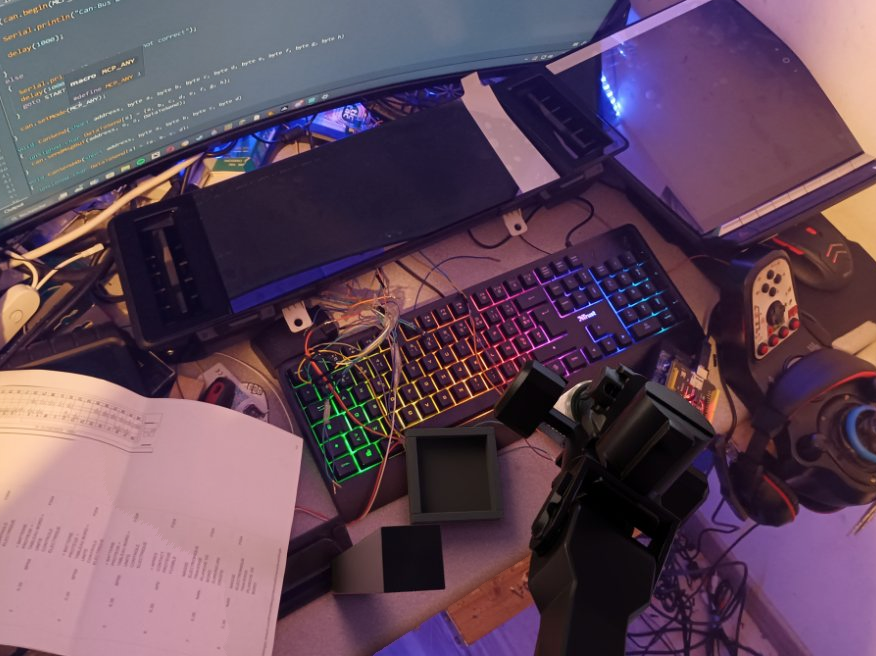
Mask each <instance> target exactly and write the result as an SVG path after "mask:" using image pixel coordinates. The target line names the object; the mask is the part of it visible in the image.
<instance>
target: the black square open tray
mask: <svg viewBox="0 0 876 656" xmlns="http://www.w3.org/2000/svg"><path fill="white" fill-rule="evenodd" d="M404 447H405V463H406V479H407V480H406V481H407V494H408V495H407V496H408V511H409V525H425V524H459V523H460V524H461V523H480V522H481V523H483V522H499V521H501V520H503V519H505V514H504V513H505V512H504V504H503V503H504V502H503V495H502V494H503V493H502V486H501V477H500V467H499V460H498V451H497V441H496V433H495V427H494V426H473V427H472V426H471V427H466V426H465V427H435V428H433V427H432V428H431V427H429V428H408V429H407V430H406V431H404Z"/></svg>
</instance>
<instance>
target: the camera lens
mask: <svg viewBox="0 0 876 656" xmlns="http://www.w3.org/2000/svg"><path fill="white" fill-rule="evenodd" d="M592 380H593V379H590V380H584V381H580V382H578V383H577V384H576V385H574V386H573V387H572V388H570V389H568V390H567V391H566V392H565V393H562V395H561V397H560V398H559V400H558V401H557V403H556V404H555V405H554V408H555V409H557V410H558V411H560V412H561V413H563V414H564V415H566V416H567V417H569V418H570V419H572V420H573V421H575V422H576V423H578V424H581V423H582V417H583V415H584V414H585V413H586V412H587V410H588V409H589V406H590V404H591V403H592V398H591V397H589V396H588V395H586V393H585V392H586V389H587V387H588V386H589V384H590V383H591V382H592ZM549 426H550V425H549ZM552 429H554V428H552ZM556 431H557V430H556ZM560 434H561V433H560ZM564 437H565V436H564ZM560 446H561V447H563V446H562V445H560Z"/></svg>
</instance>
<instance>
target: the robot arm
mask: <svg viewBox="0 0 876 656" xmlns="http://www.w3.org/2000/svg"><path fill="white" fill-rule="evenodd" d="M591 380H592V382H591V383H590V384H589V386H588V387H587V389H586V392H585V393H586V395H588V396H589V397H591V398H592V403H591V404H590V406H589V409H588V410H587V412H586V413H585V414H584V415H583V417H582V423H581V424H578V423H576V422H575V421H573V420H572V419H570V418H569V417H567V416H566V415H564V414H563V413H561V412H560V411H558V410H557V409H555V408H554V405H555V404H556V403H557V401H558V400H559V398H560V397H561V396H562V395H563V394H564V391H565V389H566V386H567V385H568V384H569V382H570V381H569V380H568V379H566V378H565V377H563V376H562V375H560V374H559V373H557V372H555V371H554V370H553V369H551V368H550V367H548V366H545V365H544V364H543V363H541V362H539V360H537V359H528V360H525V362H524V363H523V364H522V365H521V367H520V368H519V370H518V371H517V373H516V374H515V375H514V376H513V378H512V379H511V381H510V382H509V384H508V385H507V386H506V387H505V389H503V392H502V393H501V394H500V396H499V397H498V398H497V400H496V401H495V403H494V406H493V409H492V410H493V416H494V419H495V420H497V421H498V422H499V423H501V424H503V425H504V426H506V427H507V428H508V429H510V430H512V431H513V432H514V433H516V434H517V435H519V436H520V437H521V438H523V439H525V440H527V439H529V438H531V436H533V434H534V432H535V431H536V430H538V431H540V432H541V433H543V434H544V435H546V436H547V437H549V438H550V439H551V440H553V441H554V442H555V443H557V444H558V445H559V446H561V445H562V446H561V447H563V449H562V451H560V453H559V454H558V455H557V457H556V458H555V461H554V465H555V466H556V467H558V468H559V469H560V472H559V473H558V474H557V475H556V476H555V477H554V479H553V480H552V481H551V485H550V489H551V490H550V492H549V493H548V495H547V498H546V499H545V500H544V502H543V504H542V506H541V508H540V509H539V511H538V513H537V514H536V517H535V518H534V520H533V522H532V524H531V527H530V530H531V532H530V534H531V537H530V540H529V544H528V549H529V550H530V551H531V555H530V557H529V558H530V559H529V567H528V573H527V574H528V575H527V583H526V584H527V588H528V591H529V594H530V596H531V598H532V600H533V603H534V604H535V607H536V609H537V611H538V614H539V615H540V617H539V627H538V631H537V636H536V637H537V638H536V641H535V642H536V643H535V647H534V651H533V656H626V654H627V653H626V652H627V637H628V631H629V626H630V625H631V624H632V623H633V622H634V621H635V620H636V619H637V618H638V617H639V616H640V615H641V614H643V613H644V612H645V611H646V610H647V609H648V608H649V607H650V606H651V604H652V603H651V602H652V598H653V595H654V593H655V592H656V588H657V585H658V583H659V580H660V579H661V578H660V577H661V575H662V572H663V569H664V567H665V564H666V562H667V559H668V558H669V554H670V551H671V548H672V546H673V544H674V541H675V538H676V536H677V533H678V531H679V530H680V529H681V528H682V527H683V526H684V525H685V524H686V523H687V521H688V520H689V519H690V518H691V517H692V516H693V515H694V514H695V513H696V512H697V511H698V510H699V509H700V508H701V507H702V506H703V504H705V503H706V502H707V499H708V498H709V496H710V493H711V492H710V491H711V490H710V484H709V480H708V475H707V474H706V473H705V472H704V471H702V470H700V469H699V468H697V467H696V466H695V465H693V462H694V461H695V460H696V459H697V458H698V457H699V455H700V454H702V453H703V451H704V450H705V449H706V448H707V447H708V446H709V445H710V444H711V443H712V442H713V440H714V439H715V437H716V436H717V432H716V430H715V427H714V426H713V425H712V423H711V422H710V420H709V419H708V418H707V417H706V416H705V415H704V414H703V413H702V412H701V411H700V410H699V409H698V407H696V406H694V405H693V404H692V402H690V401H688V399H686V398H684V396H682V395H681V394H679V393H678V392H676V391H675V390H673V389H671V388H669V387H668V386H666V385H664V384H661V383H659V382H656V381H652V380H651V379H649V378H647V376H645V375H643V374H640V373H637V372H634V371H633V370H632V369H630V368H628V367H627V366H625V365H623V364H622V363H621V362H619V363H618V364H617V365H616V366H615V367H614V368H613V369H612V368H611V367H609V366H608V365H603V366H601V367H600V368H599V370H598V371H597V373H596V374H595V375H594V377H593V379H591ZM549 425H550V426H549ZM552 428H554V429H552ZM556 430H557V431H556ZM560 433H561V434H560ZM564 436H565V437H564ZM635 530H638V531H639V532H641V533H642V534H644V535H645V536H646V537H648V538H650V541H649V542H648V545H647V546H646V545H645V544H643V543H642V542H640V541H639V540H638V539H636V538H635V537H633V535H634V532H635Z"/></svg>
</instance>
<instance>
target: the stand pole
mask: <svg viewBox="0 0 876 656" xmlns="http://www.w3.org/2000/svg"><path fill="white" fill-rule="evenodd" d="M442 538H443V537H442V526H441V523H439V524H417V525H410V524H407V525H405V524H403V525H386V526H385V525H383V526H380V527H378V528H377V529H376V530H374V531H373V532H371V533H370V534H368V535H367V536H365V537H364V538H362V539H361V540H360V541H358V542H356V543H355V544H353V545H352V546H350V547H349V548H347V549H346V550H345V551H343V552H341V553H340V554H339V555H337V556H336V557H334V558H332V559H331V594H332V595H358V594H359V595H360V594H394V593H395V594H396V593H410V592H426V591H427V592H428V591H442V590H443V591H445V590H446V577H445V564H444V563H445V562H444V555H443V554H444V552H443V551H444V550H443V539H442Z"/></svg>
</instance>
